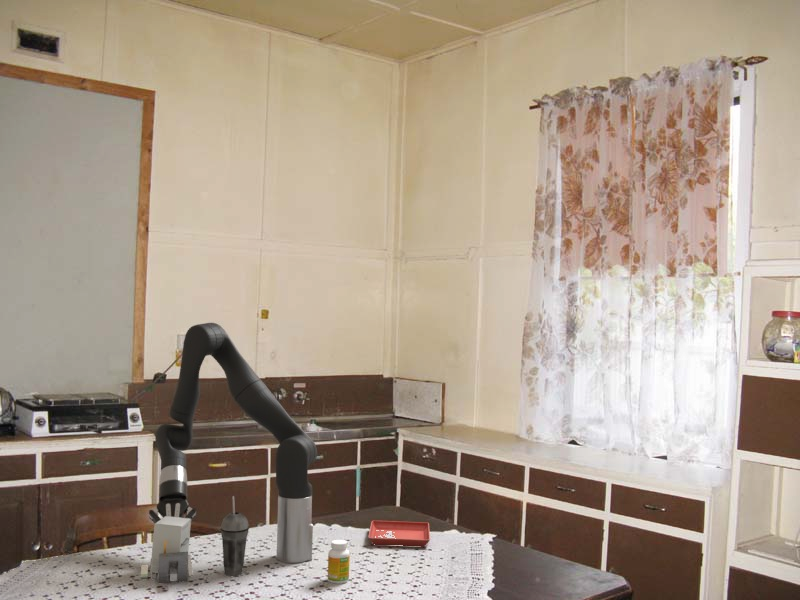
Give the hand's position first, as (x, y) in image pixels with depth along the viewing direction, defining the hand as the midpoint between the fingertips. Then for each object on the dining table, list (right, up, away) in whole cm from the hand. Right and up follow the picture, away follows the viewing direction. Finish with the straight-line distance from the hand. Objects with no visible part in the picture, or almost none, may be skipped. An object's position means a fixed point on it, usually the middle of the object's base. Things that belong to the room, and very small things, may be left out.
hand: (172, 542), depth 203 cm
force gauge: (0, -6, -4) cm, 7 cm away
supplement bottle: (+45, -7, -9) cm, 46 cm away
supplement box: (+1, -6, -4) cm, 7 cm away
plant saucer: (+60, -9, +29) cm, 67 cm away
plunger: (+4, -5, -13) cm, 15 cm away
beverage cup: (+17, -6, -6) cm, 19 cm away
